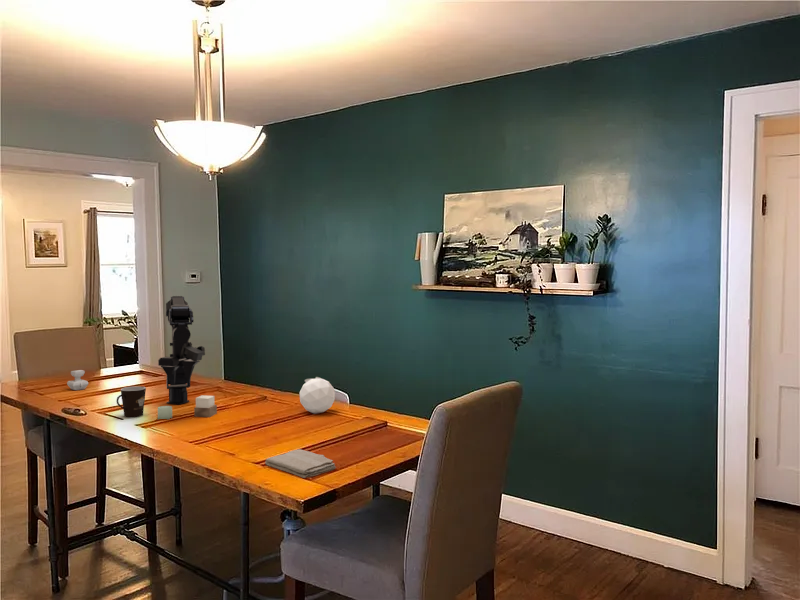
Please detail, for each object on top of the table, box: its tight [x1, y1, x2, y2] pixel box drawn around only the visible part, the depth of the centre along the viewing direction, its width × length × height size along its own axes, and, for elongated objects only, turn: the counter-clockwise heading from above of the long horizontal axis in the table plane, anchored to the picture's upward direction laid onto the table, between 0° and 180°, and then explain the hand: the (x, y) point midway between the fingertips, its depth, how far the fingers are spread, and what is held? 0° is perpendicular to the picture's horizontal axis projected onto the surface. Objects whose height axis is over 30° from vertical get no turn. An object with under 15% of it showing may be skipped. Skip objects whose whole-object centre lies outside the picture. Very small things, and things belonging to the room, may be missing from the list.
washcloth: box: [264, 448, 337, 479], centre depth 176 cm, size 12×18×3 cm, turn 50°
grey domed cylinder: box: [157, 405, 173, 420], centre depth 231 cm, size 5×5×4 cm
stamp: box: [66, 369, 89, 391], centre depth 282 cm, size 9×7×8 cm
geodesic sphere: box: [299, 376, 336, 414], centre depth 241 cm, size 14×14×14 cm
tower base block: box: [193, 404, 218, 418], centre depth 236 cm, size 6×6×4 cm
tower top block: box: [195, 395, 215, 408], centre depth 235 cm, size 5×5×4 cm
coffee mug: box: [116, 386, 147, 418], centre depth 233 cm, size 12×9×10 cm
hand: (181, 382), depth 233 cm, fingers open, 9 cm apart
